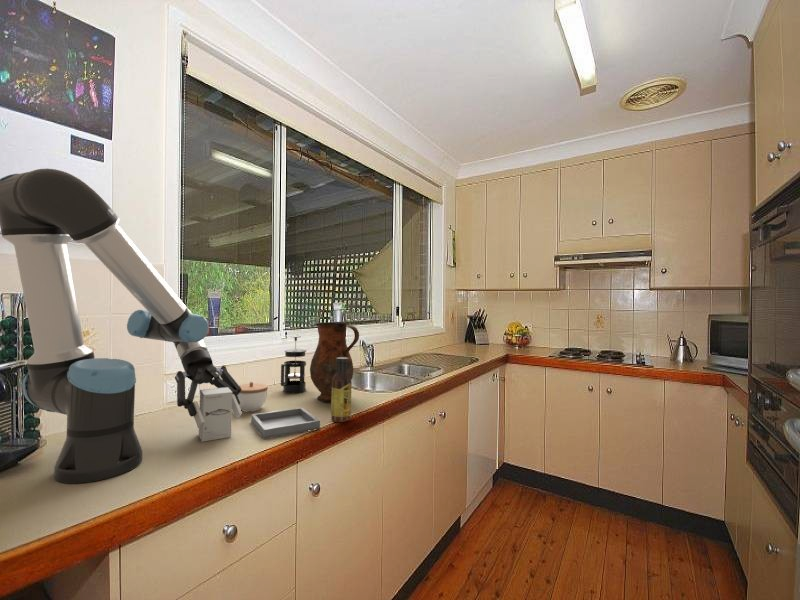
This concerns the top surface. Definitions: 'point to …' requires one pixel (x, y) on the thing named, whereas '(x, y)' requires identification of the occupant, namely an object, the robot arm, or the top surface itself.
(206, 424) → the supplement box
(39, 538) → the top surface
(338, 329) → the pitcher
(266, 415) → the tray
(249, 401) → the lidded jar
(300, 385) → the french press
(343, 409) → the sauce bottle
